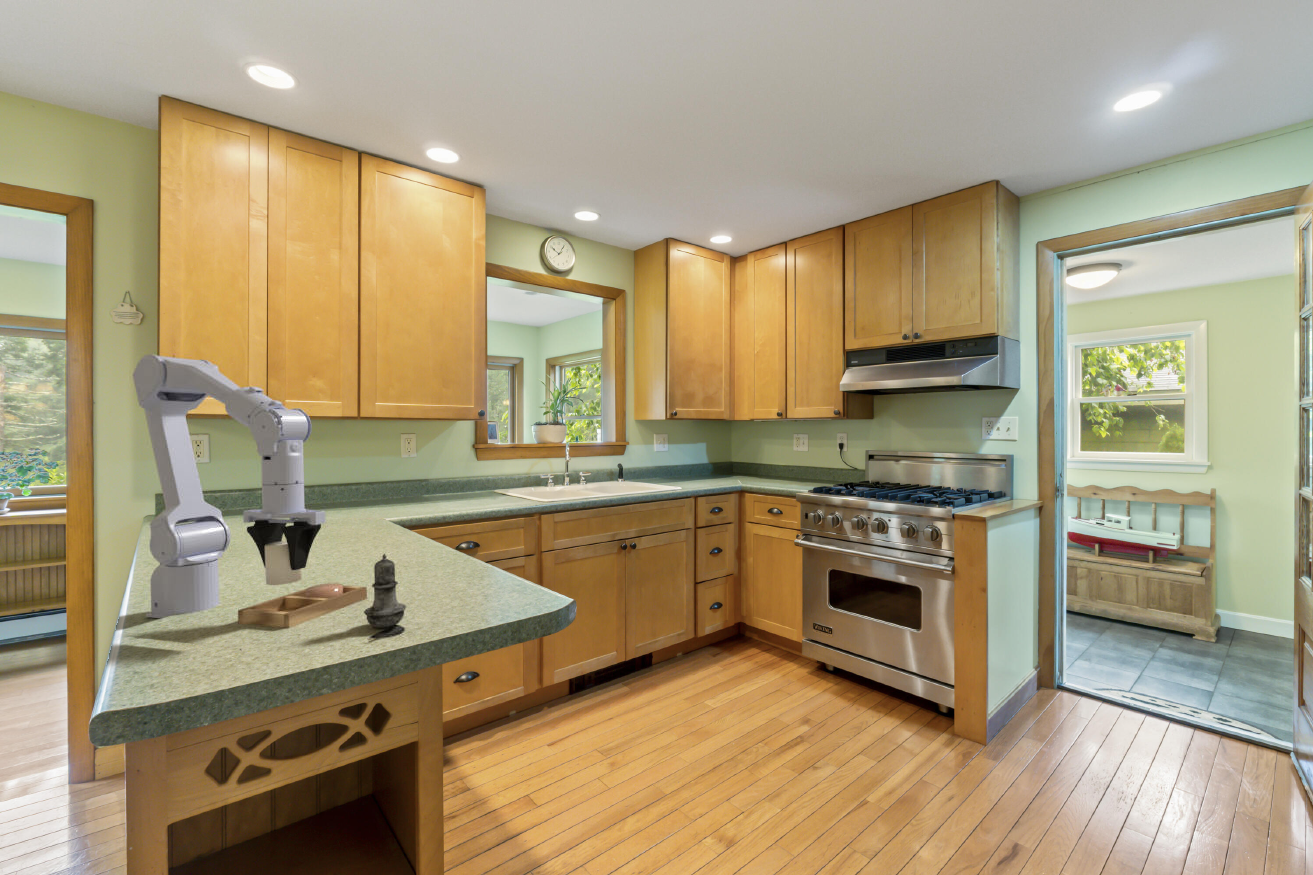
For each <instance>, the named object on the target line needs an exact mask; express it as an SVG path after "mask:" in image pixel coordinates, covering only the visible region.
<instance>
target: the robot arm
mask: <svg viewBox="0 0 1313 875" xmlns="http://www.w3.org/2000/svg"><path fill="white" fill-rule="evenodd" d="M132 379H133V383H134V387H135V392H136V396H137V401H138V405H139V407H140V408H143V410H144V414H145V420H146V425H147V428H148V432H149V437H150V443H151V448H152V451H153V455H154V461H155V465H156V469H157V473H158V478H159V484H160V488H161V492H162V497H163V502H164V505H165V506H164V507H165V509H163V510H162V512H160V513H159V514H158V515H157V516H155V518H154V519H153V520H152V521H150V523H149V526H150V539H149V549H150V553H151V555H152V557H153V559H155V560H156V561H157V562H158V563H159V565H158V566H156V567H155V569H154V570H153V572H152V574H151V577H150V612H149V613H145V617H146V618H152V619H153V618H154V619H164V618H165V619H166V618H169V617H172V616H175V615H184V614H192V613H197V612H203V611H206V610H210V609H213V608H215V607H217V606H219V605H220V579H219V578H220V577H219V576H220V575H219V559H220V558H223V553H224V552H226V550H227V549H228V548H229V545H230V543H231V539H232V538H231V537H232V536H231V531H230V528H229V527H228V524H227V523H226V521H225V520H224V518H223V514H222V510H220V509H219V508H217V507H215V506H214V505H211V504H209V503H208V502H207V501H206V500H205V497H204V493H203V489H202V484H201V480H200V476H199V471H198V467H197V462H196V457H195V454H194V449H193V444H192V439H191V435H190V432H189V427H188V426H189V425H188V423H187V418H186V416H187V414H188V412H190V411H193V410H196V409H197V408H198V407H199V406H200V405H201V404H202V402H204V400H205V399H206V398H207V397H208V396H209V397H210V398H212V399H214V400H216V401H218V402H220V403H222V404H224V408H225V412H226V413H227V415H228V416H230V417H231V418H232V419H234V420H235V421H237V422H238V423H240V424H242V425H244V426H245V427H246V428H248V429H249V430H250V431H251V436H252V438H253V440H254V441H255V443H256V451H257V453H258V455H259V456H260V458H261V462H260V463H261V492H262V493H261V500H262V501H261V502H262V504H261V505H262V508H261V509H260V508H259V509H257V508H256V509H249V510H247V509H246V510H243V517H242V518H243V523H246V524H247V523H254V524H253V525H250V526H247V527H246V532H247V533H248V534H249V536H250V537H251V538H252V540H253V541H254V543H255V546H257V549H258V552H259V555H260V558H261V560H262V563H263V566H264V568H265V545H266V544H269V543H274V542H280V541H283V536H284V538H285V541H287V544H288V548H289V558H290V566H291V569H292V570H298V569H301V570H302V569H305V568H306V566H307V564H308V563H307V562H308V559H309V555H310V551H311V548H312V546H313V543H314V541H315V538H316V536H317V535H318V533H319V532H320V530H321V528H322V524H323V525H324V524H326V522H327V520H326V510H316V509H307V508H306V507H305V473H304V471H305V469H304V468H305V467H304V461H305V460H304V443H305V442H306V441H308V440H309V438H310V436H311V434H312V426H313V425H312V421H311V418H310V416H309V414H307V413H306V412H305V411H304V410H303V409H302V408H291V409H289V408H287V407H286V406H284V405H283V402H281V401H280V400H274V399H272V398H270V397H269V396H268V395H266V394H264V389H263V388H261V387H259V386H245V387H240V386H239V385H237V384H236V383H235V382H233V381H232V380H231V379H229V378H228V377H227V376H226V375H224V374H223V373H221V372H220V371H219V367H218V365H216V364H214V363H212V362H211V361H209V360H207V359H192V358H191V359H190V358H183V357H182V358H180V357H174V356H173V357H172V356H163V355H156V354H152V353H149V354H145V355H143V356H142V357H141V358H140V359H139V360H138V362H137V364H136V366H135V368H134V371H133V373H132ZM287 524H292V525H287ZM286 525H287V526H286Z"/></svg>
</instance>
